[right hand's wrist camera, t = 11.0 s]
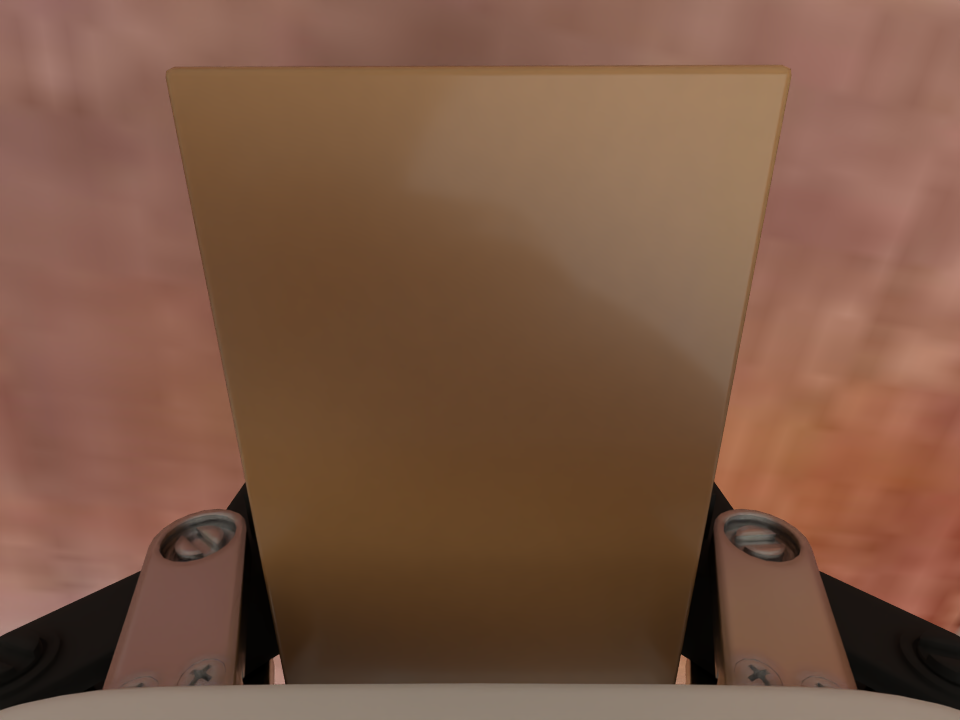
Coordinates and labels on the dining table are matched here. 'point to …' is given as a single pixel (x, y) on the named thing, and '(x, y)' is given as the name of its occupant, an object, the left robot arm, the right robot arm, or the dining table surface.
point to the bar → (479, 350)
